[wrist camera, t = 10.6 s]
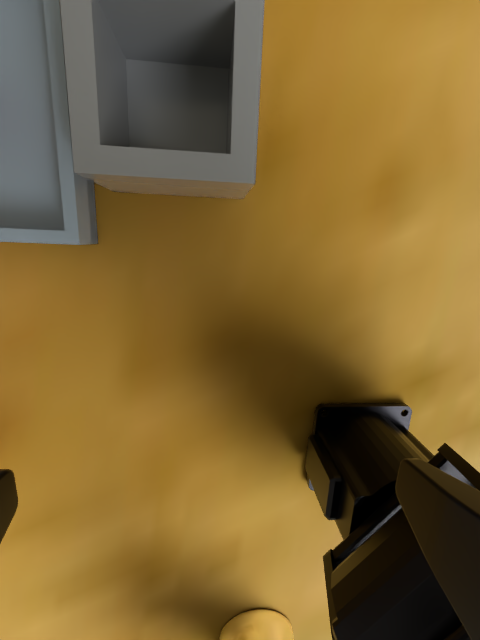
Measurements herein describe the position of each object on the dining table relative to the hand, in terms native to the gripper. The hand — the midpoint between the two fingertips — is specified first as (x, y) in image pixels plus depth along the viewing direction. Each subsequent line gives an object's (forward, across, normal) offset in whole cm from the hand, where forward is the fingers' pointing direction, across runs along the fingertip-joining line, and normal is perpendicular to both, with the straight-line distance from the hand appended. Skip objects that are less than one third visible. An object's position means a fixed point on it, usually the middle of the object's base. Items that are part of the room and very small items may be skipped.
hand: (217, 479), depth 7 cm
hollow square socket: (+12, +2, -11) cm, 16 cm away
